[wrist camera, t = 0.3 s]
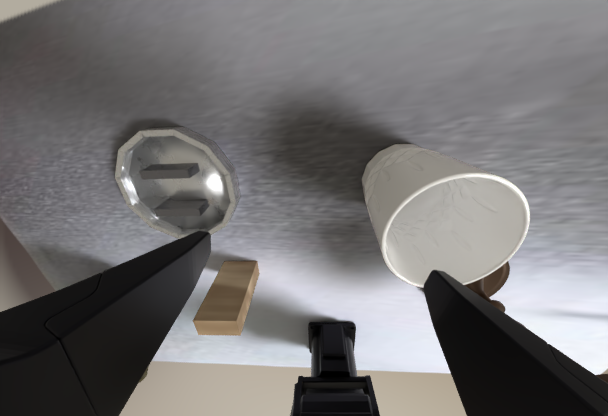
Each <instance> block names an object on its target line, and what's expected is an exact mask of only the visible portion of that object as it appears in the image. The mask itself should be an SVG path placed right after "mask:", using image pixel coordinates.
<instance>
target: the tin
mask: <svg viewBox="0 0 608 416" xmlns="http://www.w3.org/2000/svg"><path fill="white" fill-rule="evenodd" d="M115 179H116V181H117V183H118V186H119V188H120V190H121V192H122V195H123V197H124V199H125V201H126V204H127V205H128V207H129V208H131V209H132V210H133V211H134V212H135V213H136V214H137V215H138V216H139V217H140V218H141V219H142V220H143V221H145V222H146V223H147V224H148V225H149V226H150V227H151V228H154V229H156V230H159V231H161V232H164V233H166V234H168V235H171V236H173V237H176V238H179V239H180V238H183V237H185V236H187V235H190V234H192V233H194V232H197V231H206V232H209V233H210V235H212V234H214V233H215V232H217V231H219V230H220V229H222V228H224V227H226V226H227V224H228V223H229V221H230V220H231V218H232V216H233V213H234V211H235V209H236V206H237V204H238V202H239V199H240V196H241V195H240V190H239V185H238V179H237V174H236V169H235V167H234V166H233V165H232V164H231V162H230V161H229V160H228V159H227V157H226V156H225V155H224V153H223V152H222V151H221V150H220V148H219V147H218V146H217V145H216V143H214V142H213V141H211V140H209V139H207V138H205V137H203V136H201V135H199V134H197V133H195V132H193V131H191V130H189V129H187V128H185V127H163V128H150V129H146V130H141V131H139V132H138V133H137V134H136V135H134V136H133V137H132V138H131V139H130V140H129V141H128V142H126V143H125V144H124V145H123V146H122V147H121V148H119V150H118V157H117V164H116V172H115Z"/></svg>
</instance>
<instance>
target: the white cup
mask: <svg viewBox="0 0 608 416" xmlns="http://www.w3.org/2000/svg"><path fill="white" fill-rule="evenodd" d="M362 186H363V193H364V196H365V202H366V206H367V209H368V213H369V216H370V219H371V222H372V225H373V228H374V231H375V234H376V237H377V240H378V243H379V247H380V250H381V253H382V256H383V259H384V261H385V263H386V265H387V267H388V268H389V269H390V271H391V272H392V273H393V274H394V275H395V276H397V277H398V278H399V279H401V280H402V281H404V282H406V283H409V284H411V285H414V286H417V287H422V288H423V287H424V283H425V281H426V280H427V278H428V276H429V274H430V272H431V271H432V270H439V271H444V272H446V273H447V274H449V275H450V276H451V277H453V278H454V279H456V280H457V281H459V282H460V283H462V284H463V285H466V284H469V283H472V282H475V281H477V280H479V279H481V278H483V277H485V276H487V275H489V274H491V273H492V272H494V271H495V270H497V269H498V268H500V267H501V266H502V265H503V264H505V263H506V262H507V261H508V260H509V259H510V258H511V257H512V256H513V255H514V254H515V252H516V251H517V250H518V249H519V247H520V246H521V244H522V242H523V241H524V239H525V236H526V234H527V231H528V228H529V223H530V210H529V205H528V202H527V200H526V198H525V196H524V195H523V193H522V192H521V191H520V190H519V188H517V187H516V186H515V185H514V184H513V183H511V182H510V181H508V180H506V179H504V178H502V177H499V176H497V175H494V174H492V173H489V172H487V171H484V170H482V169H479V168H477V167H474V166H472V165H469V164H467V163H464V162H462V161H460V160H457V159H455V158H452V157H449V156H446V155H443V154H441V153H438V152H435V151H432V150H428V149H423V148H421V147H419V146H416V145H414V144H394V145H392V146H390V147H388V148H386V149H384V150H381V151H379V152H378V153H377V154H376V155H375V156H374V157H373V158H372V159H371V160H370V162H369V163H368V164H367V165H366V168H365V171H364V174H363V177H362Z"/></svg>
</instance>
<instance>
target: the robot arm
mask: <svg viewBox="0 0 608 416" xmlns="http://www.w3.org/2000/svg"><path fill="white" fill-rule="evenodd" d="M210 252H211V235H210V233H209V232H206V231H197V232H194V233H192V234H190V235H187V236H185V237H183V238H180V239H178V240H176V241H173V242H171V243H169V244H166V245H164V246H162V247H159V248H157V249H155V250H153V251H150V252H148V253H146V254H143V255H141V256H139V257H136V258H134V259H132V260H129V261H127V262H125V263H122V264H120V265H118V266H115V267H113V268H111V269H108V270H106V271H104V272H103V273H99V274H97V275H94V276H92V277H90V278H87V279H85V280H83V281H80V282H78V283H75V284H73V285H71V286H68V287H66V288H63V289H61V290H58V291H56V292H53V293H51V294H48V295H45V296H42V297H40V298H37V299H35V300H32V301H29V302H26V303H24V304H21V305H19V306H16V307H13V308H10V309H8V310H5V311H2V312H0V416H119V414H120V413H121V411H122V409H123V408H124V406H125V404H126V402H127V401H128V399H129V398H130V396H131V394H132V393H133V391H134V389H135V388H136V386H137V384H138V383H139V381H140V379H141V377H142V376H143V374H144V372H145V371H146V369H147V367H148V366H149V364H150V362H151V361H152V359H153V357H154V356H155V354H156V352H157V351H158V349H159V347H160V346H161V344H162V342H163V341H164V339H165V337H166V335H167V334H168V332H169V330H170V329H171V327H172V325H173V324H174V322H175V320H176V319H177V317H178V315H179V314H180V312H181V310H182V309H183V307H184V305H185V304H186V302H187V300H188V299H189V297H190V295H191V293H192V292H193V290H194V288H195V286H196V284H197V282H198V279H199V277H200V275H201V273H202V271H203V268H204V266H205V264H206V262H207V259H208V257H209V255H210ZM423 289H424V294H425V297H426V301H427V305H428V309H429V312H430V316H431V320H432V323H433V326H434V329H435V332H436V335H437V338H438V340H439V343H440V345H441V348H442V351H443V353H444V356H445V359H446V361H447V364H448V367H449V369H450V372H451V375H452V377H453V380H454V382H455V385H456V388H457V391H458V393H459V396H460V398H461V401H462V404H463V406H464V409H465V412H466V414H467V416H608V383H606V382H605V381H603V380H602V379H600V378H599V377H597V376H596V375H594V374H593V373H591V372H590V371H588V370H587V369H585V368H584V367H582V366H581V365H579V364H578V363H576V362H575V361H573V360H572V359H570V358H569V357H567V356H566V355H564V354H563V353H562V352H560V351H559V350H557V349H556V348H554V347H553V346H551V345H550V344H547V342H546V341H544V340H543V339H541V338H540V337H538V336H537V335H535V334H534V333H533V332H531V331H530V330H528V329H527V328H525V327H524V326H522V325H521V324H520V323H518V322H517V321H515V320H514V319H512V318H511V317H509V316H508V315H506V314H505V313H504V312H502V311H501V310H499V309H498V308H496V307H495V306H493V305H492V304H491V303H489V302H488V301H486V300H485V299H483V298H482V297H480V296H479V295H478V294H476V293H475V292H473V291H472V290H470V289H469V288H467V287H466V286H465V285H463V284H462V283H460V282H459V281H457V280H456V279H454V278H453V277H451V276H450V275H449V274H447V273H446V272H444V271H439V270H432V271H431V272H430V274H429V276H428V278H427V280H426V281H425V283H424V287H423ZM308 331H309V349H310V353H312V359H311V377H303V376H299V377H298V383H296V384H295V389H294V390H295V391H294V400H293V406H292V410H291V415H290V416H380V415H379V410H378V406H377V402H376V398H375V394H374V390H373V386H372V382H371V378H370V376H365V377H364V376H362V377H360V376H357V371H356V364H355V357H354V343H355V332H356V326H355V324H354V323H309V325H308Z"/></svg>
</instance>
